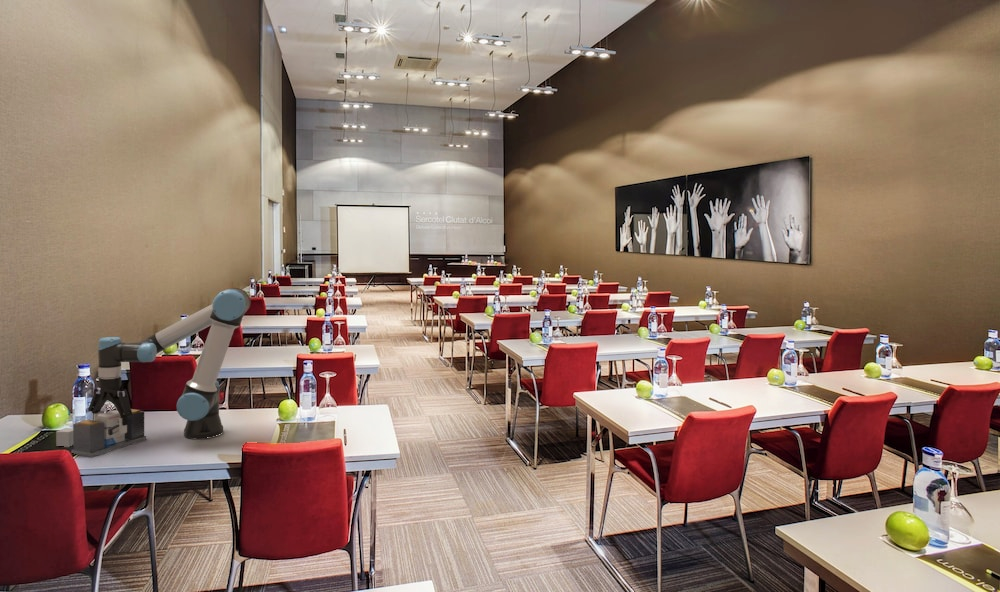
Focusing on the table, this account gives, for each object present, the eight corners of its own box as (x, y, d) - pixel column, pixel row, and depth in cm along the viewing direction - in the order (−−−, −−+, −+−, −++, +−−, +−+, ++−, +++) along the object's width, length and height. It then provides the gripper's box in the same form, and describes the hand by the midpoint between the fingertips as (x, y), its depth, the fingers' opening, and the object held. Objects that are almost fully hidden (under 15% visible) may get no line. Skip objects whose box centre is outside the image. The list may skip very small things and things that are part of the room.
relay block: (78, 443, 243) (78, 428, 243) (69, 447, 238) (68, 432, 238) (65, 442, 244) (65, 427, 243) (56, 446, 239) (56, 431, 238)
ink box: (106, 446, 236) (106, 416, 235) (96, 445, 238) (96, 415, 237) (125, 440, 244) (125, 411, 244) (115, 438, 246) (115, 409, 245)
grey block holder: (146, 439, 251) (146, 410, 250) (91, 457, 228) (91, 425, 227) (127, 436, 254) (127, 407, 253) (71, 453, 231) (71, 422, 230)
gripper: (142, 378, 239) (143, 432, 241) (94, 372, 246) (95, 425, 248) (126, 381, 232) (126, 437, 234) (77, 375, 239) (77, 430, 241)
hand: (110, 431), depth 241 cm, fingers open, 12 cm apart
